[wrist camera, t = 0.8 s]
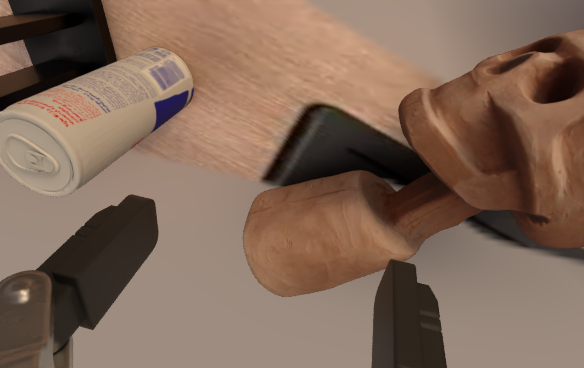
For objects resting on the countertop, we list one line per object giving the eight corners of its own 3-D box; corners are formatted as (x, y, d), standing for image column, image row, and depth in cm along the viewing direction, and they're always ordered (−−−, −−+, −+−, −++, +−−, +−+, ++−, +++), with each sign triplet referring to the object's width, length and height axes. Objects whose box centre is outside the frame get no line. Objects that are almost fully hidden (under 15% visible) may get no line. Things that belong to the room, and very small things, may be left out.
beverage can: (126, 54, 32) (-39, 120, 20) (179, 38, 30) (34, 99, 18) (155, 114, 35) (26, 205, 22) (206, 102, 33) (95, 194, 20)
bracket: (48, 77, 35) (-81, 127, 25) (18, -4, 31) (-147, 17, 22) (123, 82, 34) (15, 136, 24) (100, -3, 30) (-39, 20, 20)
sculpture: (233, 145, 33) (652, -46, 20) (308, 243, 40) (656, 146, 27) (195, 224, 26) (822, -1, 13) (296, 328, 33) (767, 248, 20)
